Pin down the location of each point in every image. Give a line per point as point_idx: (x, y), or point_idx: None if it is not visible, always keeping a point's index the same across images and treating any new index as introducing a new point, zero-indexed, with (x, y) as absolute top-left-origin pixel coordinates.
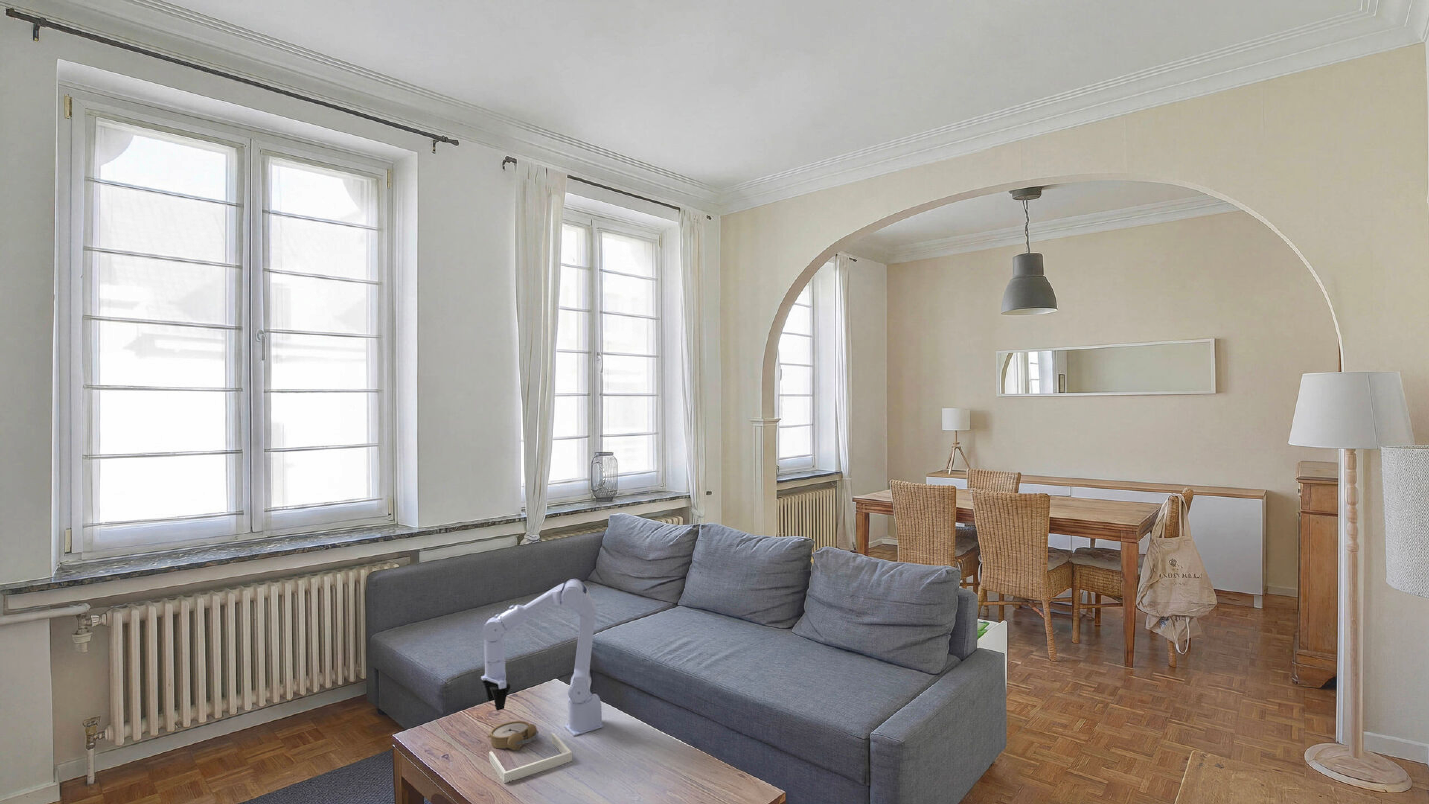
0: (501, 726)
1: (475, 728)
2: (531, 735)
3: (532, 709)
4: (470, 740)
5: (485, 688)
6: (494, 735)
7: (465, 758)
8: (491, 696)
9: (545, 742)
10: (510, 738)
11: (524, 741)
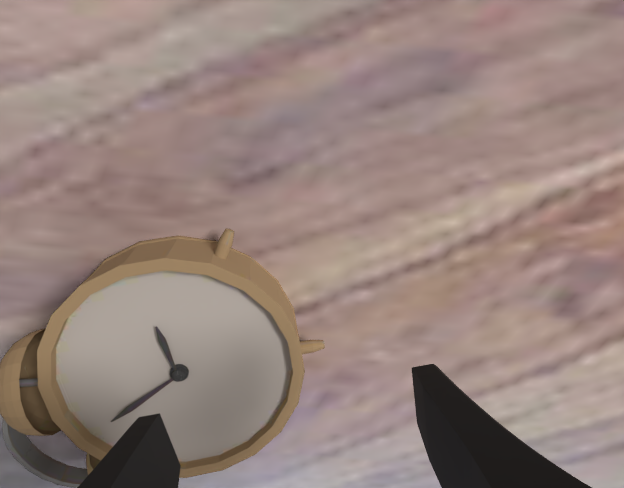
0: (282, 329)
1: (453, 166)
2: (91, 456)
3: None
4: (291, 118)
5: (526, 463)
6: (151, 280)
7: (23, 58)
8: (430, 426)
9: None
10: (2, 374)
11: (6, 425)
